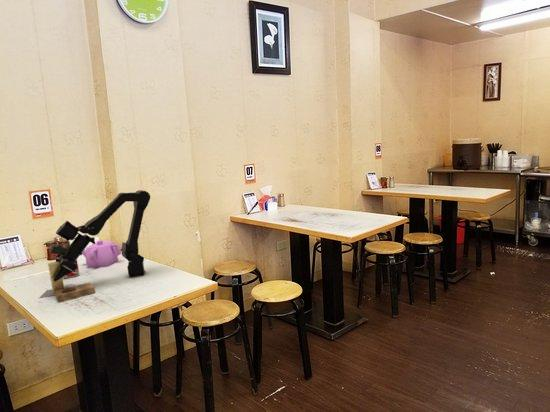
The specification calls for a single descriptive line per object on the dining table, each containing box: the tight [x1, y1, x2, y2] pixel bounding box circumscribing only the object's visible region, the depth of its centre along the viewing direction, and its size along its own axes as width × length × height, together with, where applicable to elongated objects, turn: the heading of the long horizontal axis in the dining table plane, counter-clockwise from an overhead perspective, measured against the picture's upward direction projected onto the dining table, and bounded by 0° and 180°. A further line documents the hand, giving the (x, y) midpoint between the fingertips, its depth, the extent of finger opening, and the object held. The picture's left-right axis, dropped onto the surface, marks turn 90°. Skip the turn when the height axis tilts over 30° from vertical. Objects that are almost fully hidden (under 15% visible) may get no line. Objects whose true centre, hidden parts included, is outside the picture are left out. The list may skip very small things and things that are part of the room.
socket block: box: [55, 281, 96, 303], centre depth 171 cm, size 14×8×3 cm, turn 124°
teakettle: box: [82, 239, 122, 269], centre depth 217 cm, size 17×17×12 cm
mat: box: [38, 286, 70, 299], centre depth 177 cm, size 10×10×1 cm
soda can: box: [63, 259, 80, 280], centre depth 198 cm, size 7×7×13 cm
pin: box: [47, 261, 65, 297], centre depth 174 cm, size 4×4×13 cm
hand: (52, 278), depth 173 cm, fingers open, 9 cm apart
